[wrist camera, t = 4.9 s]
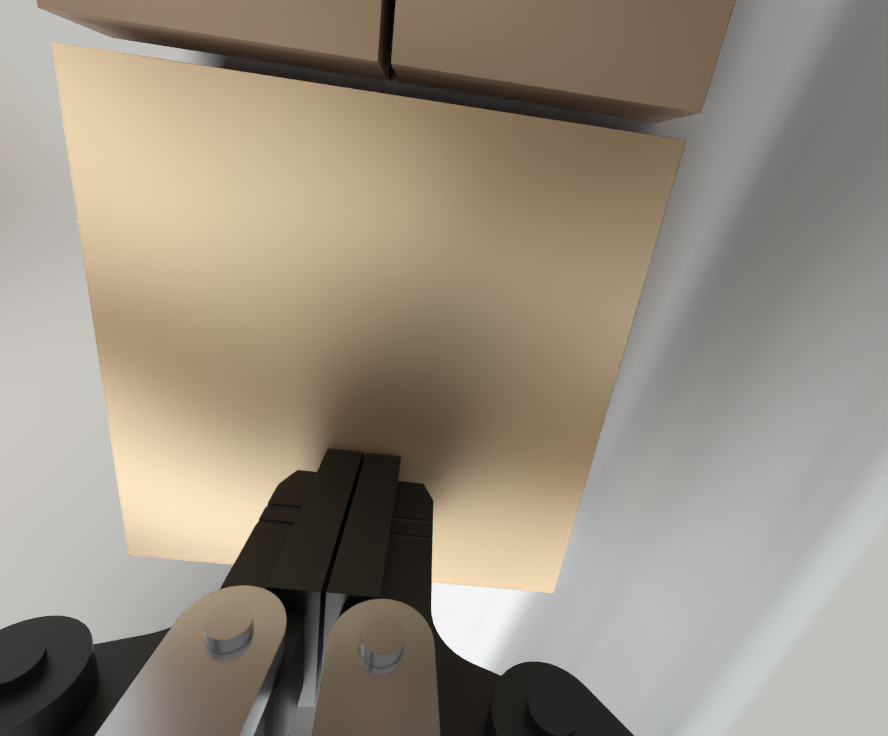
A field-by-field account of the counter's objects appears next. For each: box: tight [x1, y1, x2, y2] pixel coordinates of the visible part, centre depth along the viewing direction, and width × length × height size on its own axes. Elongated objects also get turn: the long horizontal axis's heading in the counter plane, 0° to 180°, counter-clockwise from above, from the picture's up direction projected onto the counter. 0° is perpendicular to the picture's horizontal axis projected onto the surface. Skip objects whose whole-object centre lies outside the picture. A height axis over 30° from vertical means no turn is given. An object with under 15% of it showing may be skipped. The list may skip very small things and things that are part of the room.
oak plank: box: [51, 42, 686, 593], centre depth 9 cm, size 10×10×2 cm
